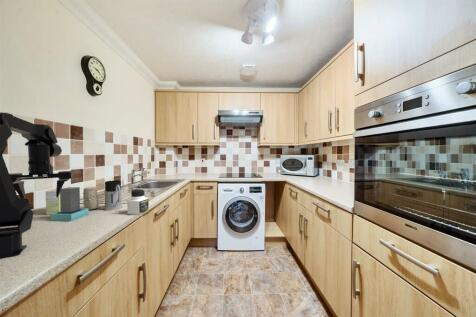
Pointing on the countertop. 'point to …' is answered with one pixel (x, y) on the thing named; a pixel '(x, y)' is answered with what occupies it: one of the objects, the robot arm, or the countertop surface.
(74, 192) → the tall grey square pillar
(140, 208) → the medicine bottle
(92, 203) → the carving
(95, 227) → the countertop surface
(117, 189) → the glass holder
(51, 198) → the box
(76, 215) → the teal tray
